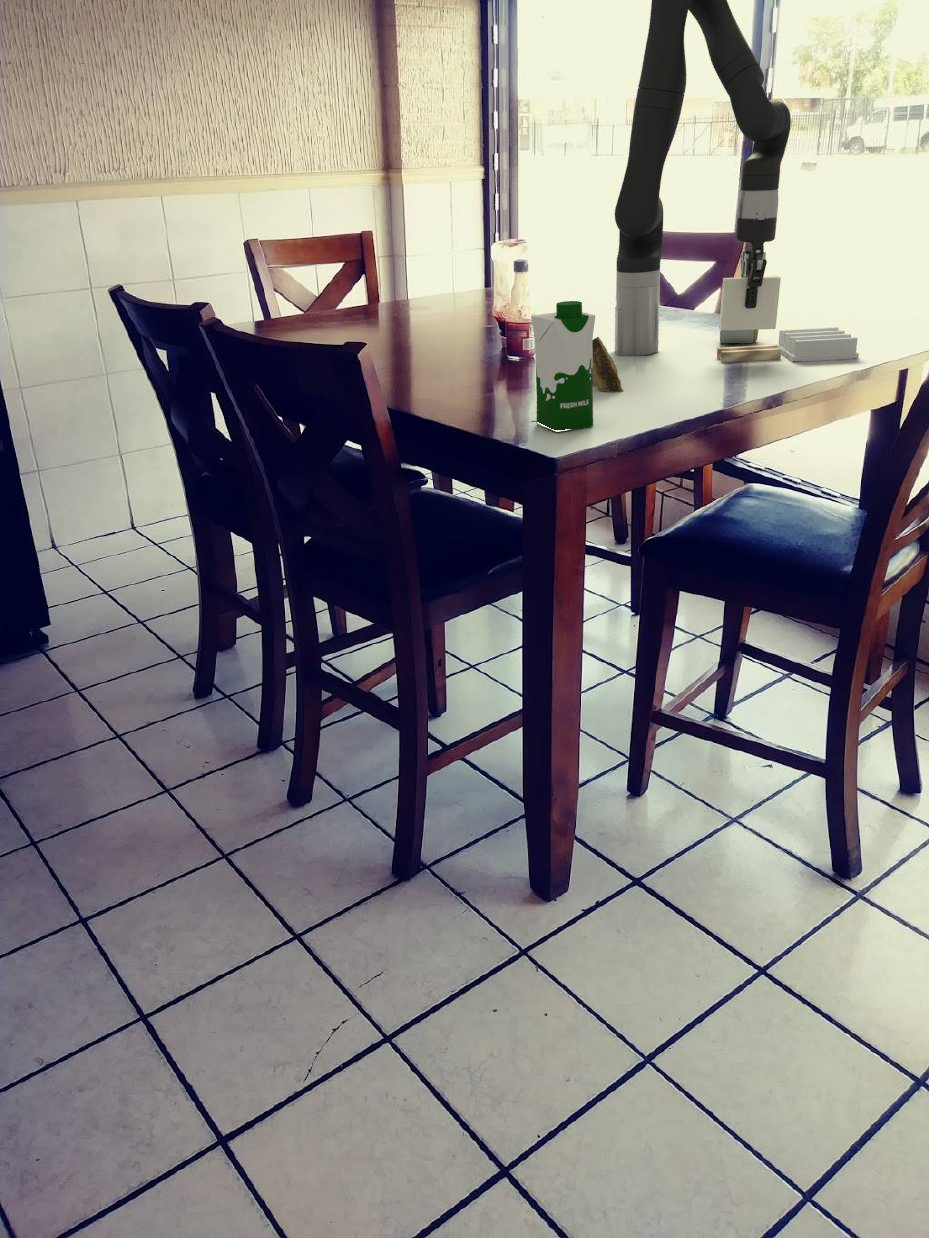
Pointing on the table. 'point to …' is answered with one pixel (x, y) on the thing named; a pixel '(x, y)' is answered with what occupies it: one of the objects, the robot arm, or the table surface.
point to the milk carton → (564, 366)
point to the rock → (604, 368)
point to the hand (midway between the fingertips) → (749, 306)
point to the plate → (749, 318)
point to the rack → (817, 344)
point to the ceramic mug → (738, 336)
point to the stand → (748, 353)
